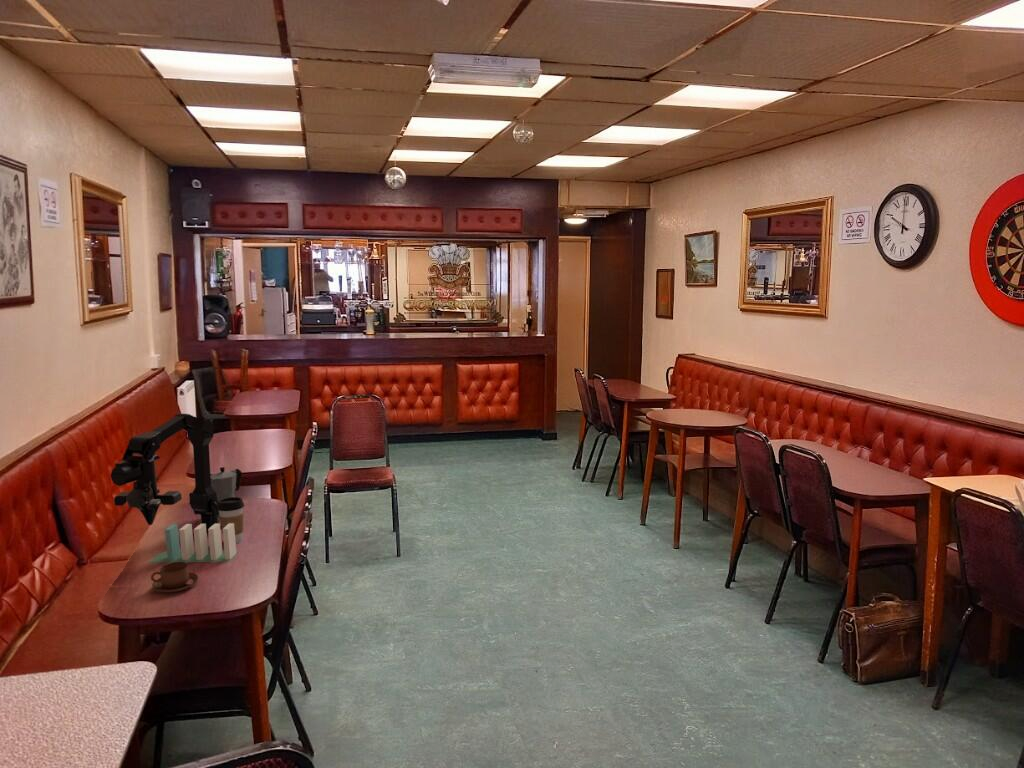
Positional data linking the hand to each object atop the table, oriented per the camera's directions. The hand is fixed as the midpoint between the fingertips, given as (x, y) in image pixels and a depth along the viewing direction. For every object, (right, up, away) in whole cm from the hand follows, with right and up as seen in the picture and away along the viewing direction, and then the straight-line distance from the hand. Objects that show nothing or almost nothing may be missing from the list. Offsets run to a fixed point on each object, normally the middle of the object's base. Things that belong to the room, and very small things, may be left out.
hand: (150, 524), depth 229 cm
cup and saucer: (+16, -15, -18) cm, 29 cm away
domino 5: (+25, -10, +1) cm, 27 cm away
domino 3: (+16, -10, +1) cm, 19 cm away
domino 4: (+20, -10, +1) cm, 23 cm away
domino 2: (+11, -11, +1) cm, 15 cm away
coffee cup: (+20, -9, +15) cm, 27 cm away
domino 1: (+7, -11, +2) cm, 13 cm away
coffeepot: (+7, -4, +44) cm, 45 cm away
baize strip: (+13, -11, +2) cm, 17 cm away
